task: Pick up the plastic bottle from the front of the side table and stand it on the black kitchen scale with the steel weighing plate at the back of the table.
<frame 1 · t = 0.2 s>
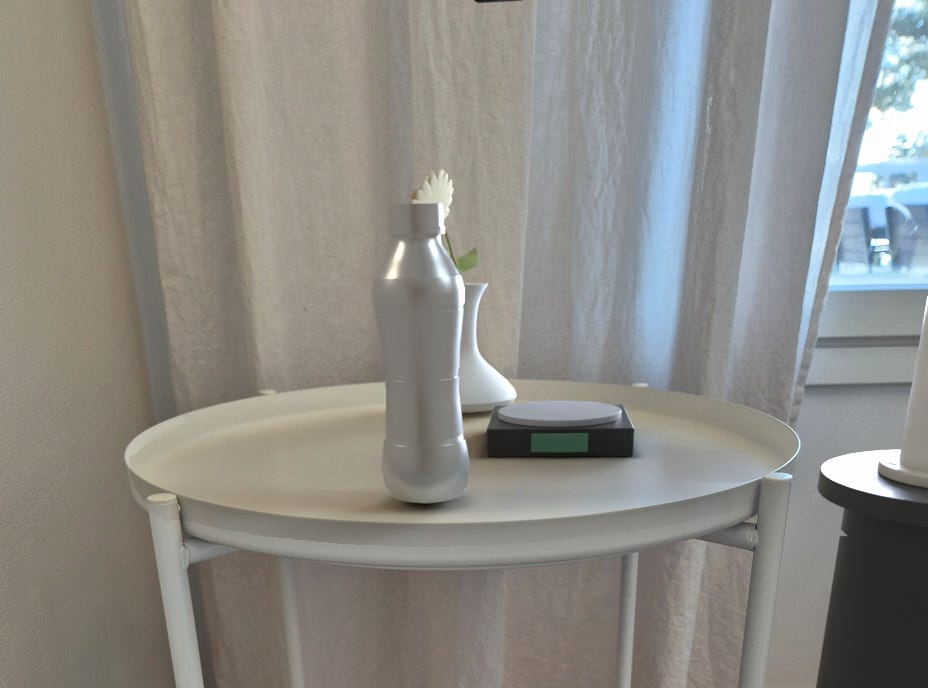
scale: (558, 442, 86), on the table
flower in vase: (462, 413, 103), on the table
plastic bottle: (426, 503, 67), on the table
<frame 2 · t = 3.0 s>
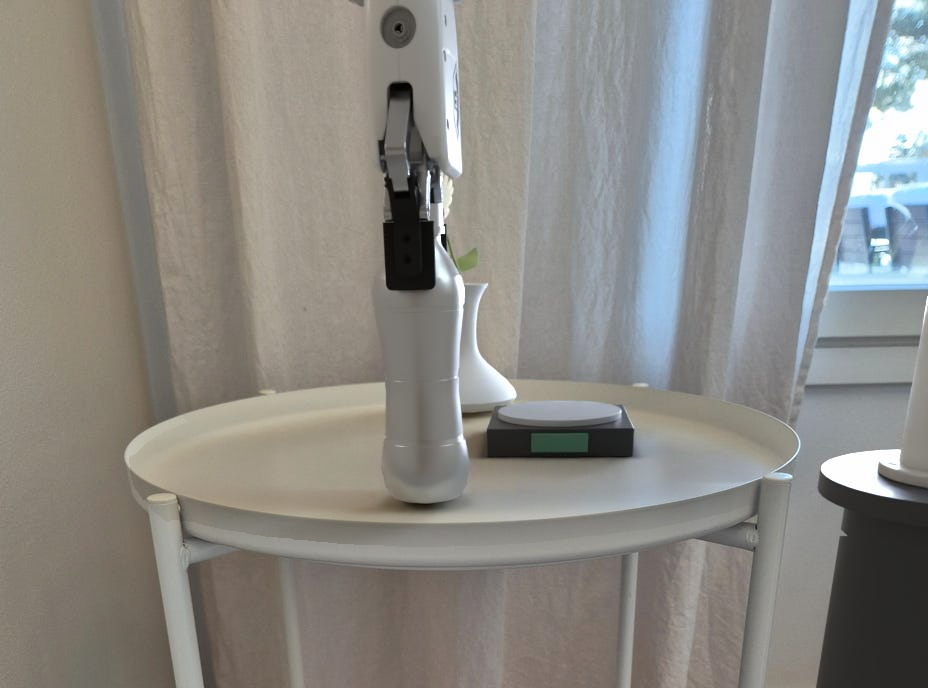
hand: (418, 285, 61), 15 cm above the table, tool pointing down, fingers closed on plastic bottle, 6 cm apart
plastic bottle: (426, 503, 67), on the table, touching gripper
everything else where it was.
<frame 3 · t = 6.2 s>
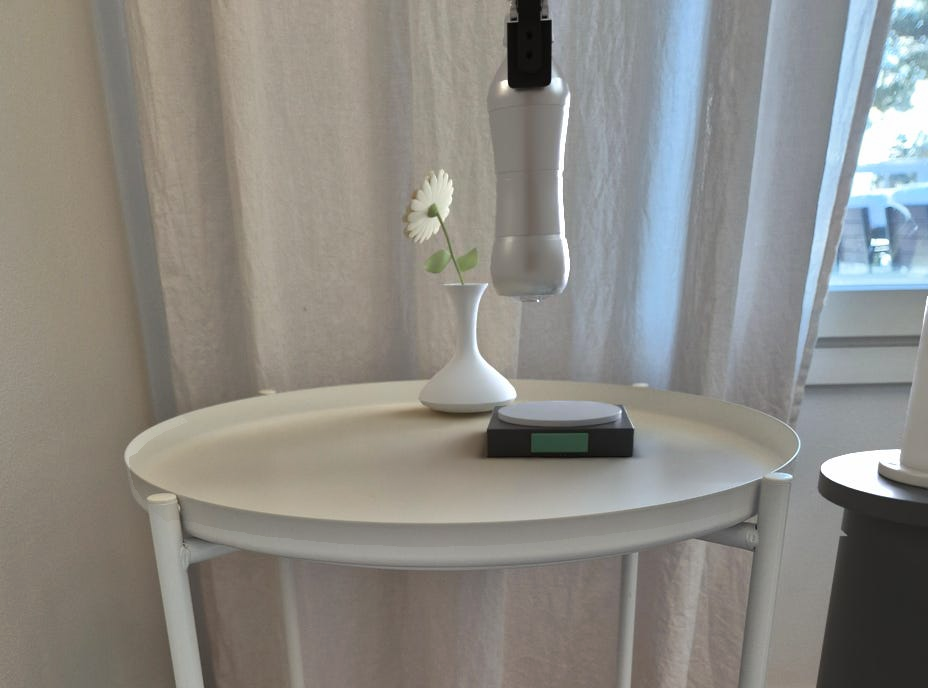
hand: (529, 92, 68), 28 cm above the table, tool pointing down, fingers closed on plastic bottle, 6 cm apart
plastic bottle: (529, 303, 74), point 13 cm above the table, touching gripper
everything else where it was.
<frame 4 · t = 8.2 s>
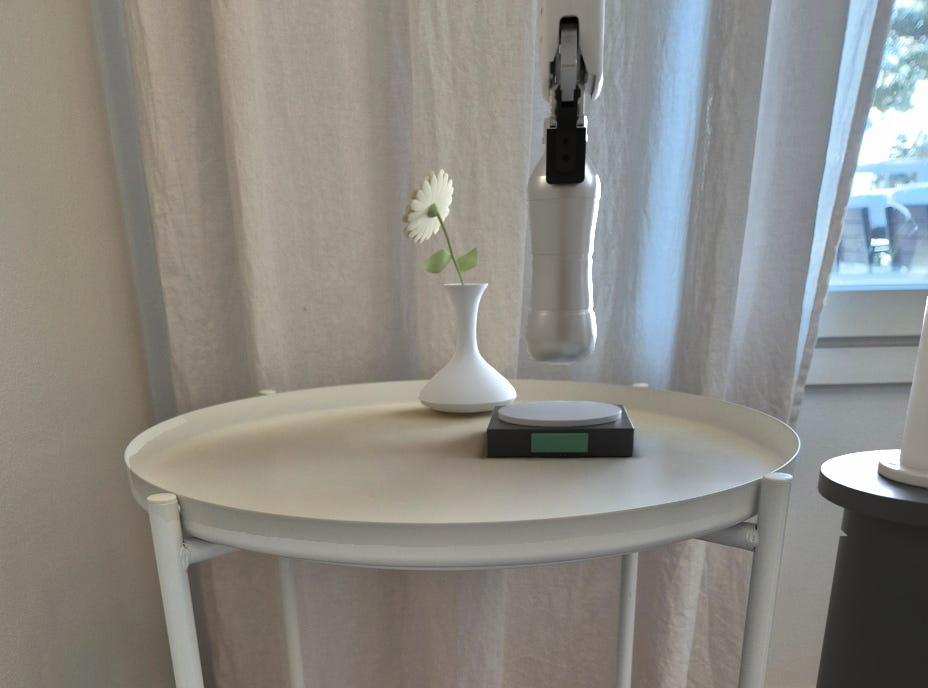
hand: (564, 184, 77), 22 cm above the table, tool pointing down, fingers closed on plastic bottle, 6 cm apart
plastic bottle: (559, 367, 83), point 7 cm above the table, touching gripper
everything else where it was.
when the fingers open (18 cm above the table, at t = 9.7 s): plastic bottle stays where it is, resting on scale.
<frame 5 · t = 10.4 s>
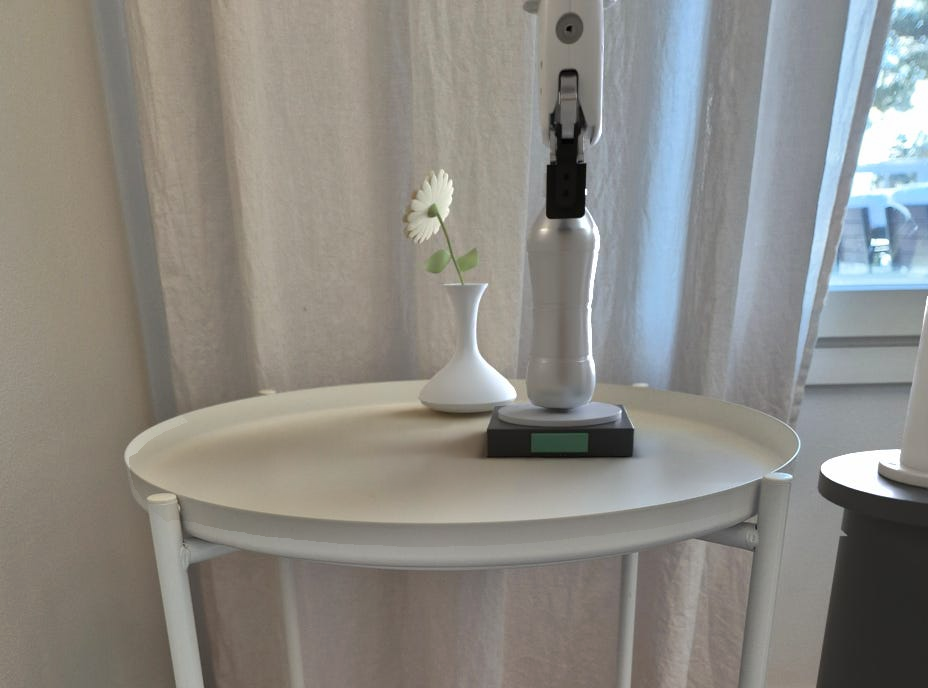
hand: (564, 220, 78), 19 cm above the table, tool pointing down, fingers open, 9 cm apart
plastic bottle: (559, 411, 84), point 3 cm above the table, touching scale
everything else where it was.
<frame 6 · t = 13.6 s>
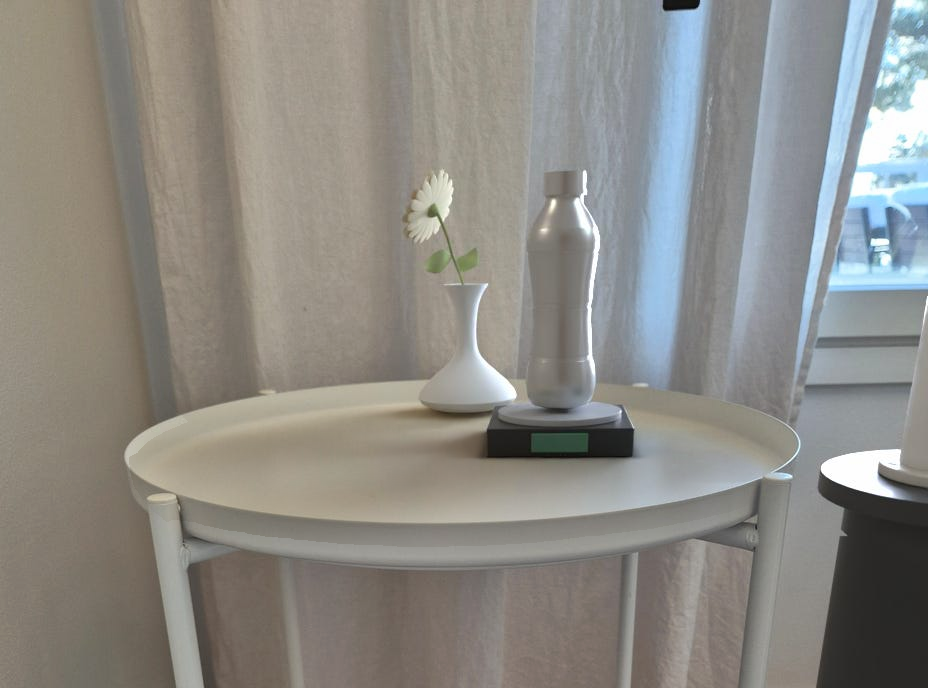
nothing on the table moved.
at the end: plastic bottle inside the target area on the scale (0.0 cm from its centre), point 2.9 cm above the scale's base; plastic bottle tilted 0°; the gripper is holding nothing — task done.
